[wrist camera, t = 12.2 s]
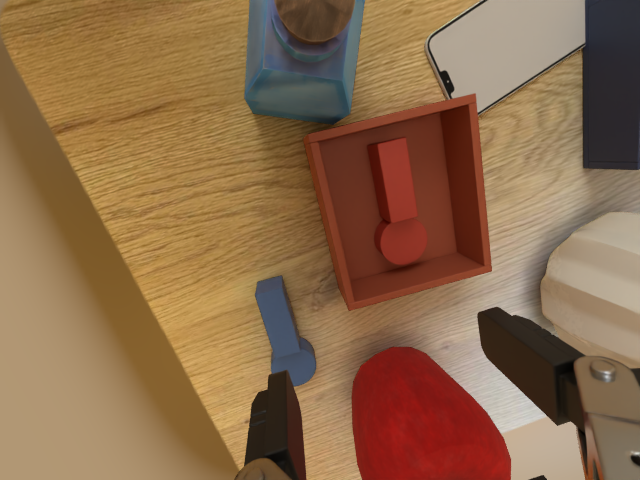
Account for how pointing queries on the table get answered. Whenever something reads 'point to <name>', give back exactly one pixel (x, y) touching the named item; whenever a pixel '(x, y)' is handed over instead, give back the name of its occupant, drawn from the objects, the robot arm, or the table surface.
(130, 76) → the table surface
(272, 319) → the blue spoon
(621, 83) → the navy bin
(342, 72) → the perfume bottle
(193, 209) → the table surface
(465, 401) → the apple
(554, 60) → the smartphone
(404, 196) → the red spoon
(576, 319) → the vase
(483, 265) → the terracotta bin
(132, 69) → the table surface
